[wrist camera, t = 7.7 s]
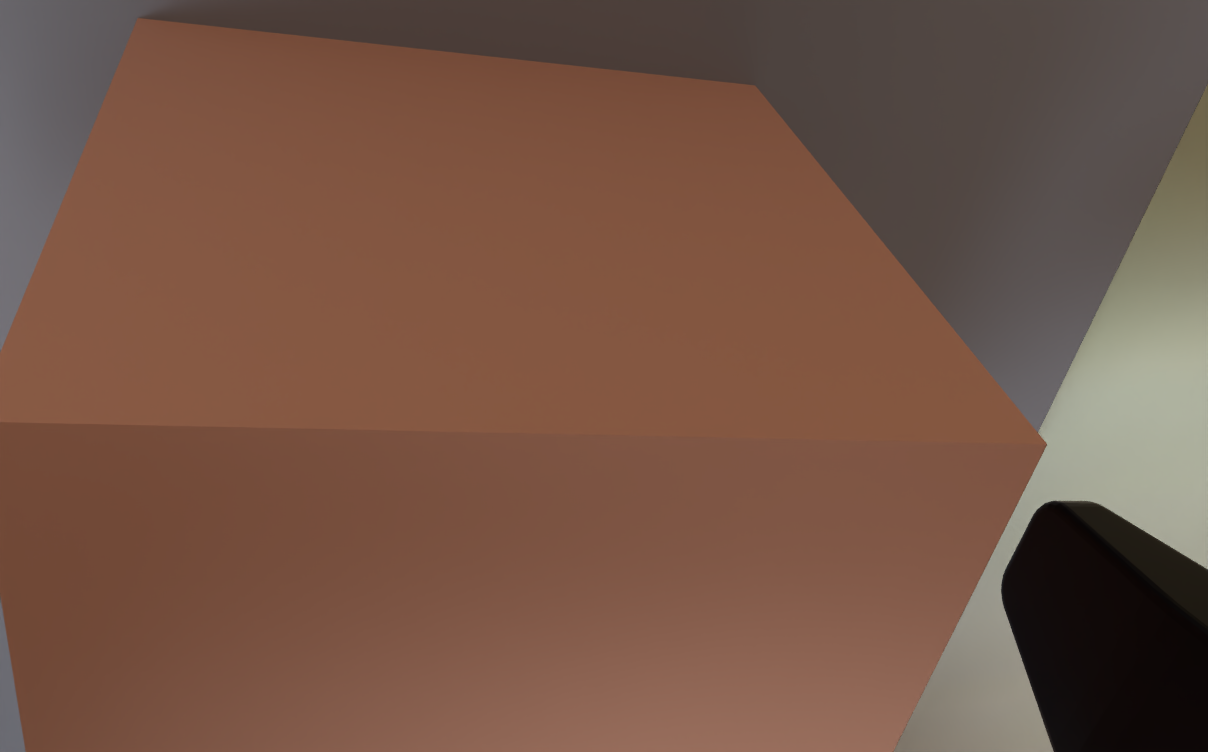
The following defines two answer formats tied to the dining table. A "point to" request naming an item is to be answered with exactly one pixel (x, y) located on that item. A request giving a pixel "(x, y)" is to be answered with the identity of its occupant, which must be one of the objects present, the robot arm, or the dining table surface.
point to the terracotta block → (476, 420)
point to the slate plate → (798, 94)
